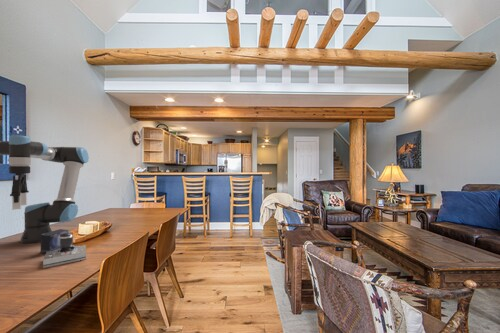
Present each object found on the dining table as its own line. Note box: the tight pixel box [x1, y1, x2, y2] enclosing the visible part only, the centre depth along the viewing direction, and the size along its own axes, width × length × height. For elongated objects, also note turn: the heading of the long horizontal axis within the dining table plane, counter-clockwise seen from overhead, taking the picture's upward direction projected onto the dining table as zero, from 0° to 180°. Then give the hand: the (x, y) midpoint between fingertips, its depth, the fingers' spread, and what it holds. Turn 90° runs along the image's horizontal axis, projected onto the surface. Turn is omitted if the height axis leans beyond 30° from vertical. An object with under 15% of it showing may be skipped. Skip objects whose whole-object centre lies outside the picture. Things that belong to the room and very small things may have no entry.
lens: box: [60, 231, 74, 252], centre depth 111 cm, size 5×5×9 cm
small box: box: [39, 228, 69, 254], centre depth 123 cm, size 11×6×10 cm, turn 168°
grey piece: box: [42, 244, 87, 269], centre depth 111 cm, size 12×16×5 cm
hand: (19, 207), depth 111 cm, fingers open, 13 cm apart
